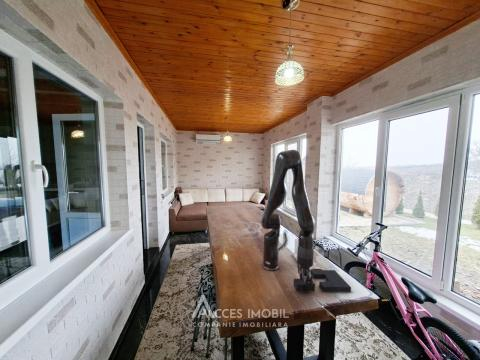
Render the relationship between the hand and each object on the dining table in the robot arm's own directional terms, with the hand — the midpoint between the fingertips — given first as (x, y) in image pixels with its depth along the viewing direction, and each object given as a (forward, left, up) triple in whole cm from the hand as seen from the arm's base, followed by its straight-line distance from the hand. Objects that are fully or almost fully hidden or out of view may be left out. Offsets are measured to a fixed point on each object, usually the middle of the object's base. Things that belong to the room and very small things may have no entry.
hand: (303, 287), depth 95 cm
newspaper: (-29, +12, -2) cm, 32 cm away
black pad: (0, 0, 0) cm, 0 cm away
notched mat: (-7, +16, -2) cm, 18 cm away
